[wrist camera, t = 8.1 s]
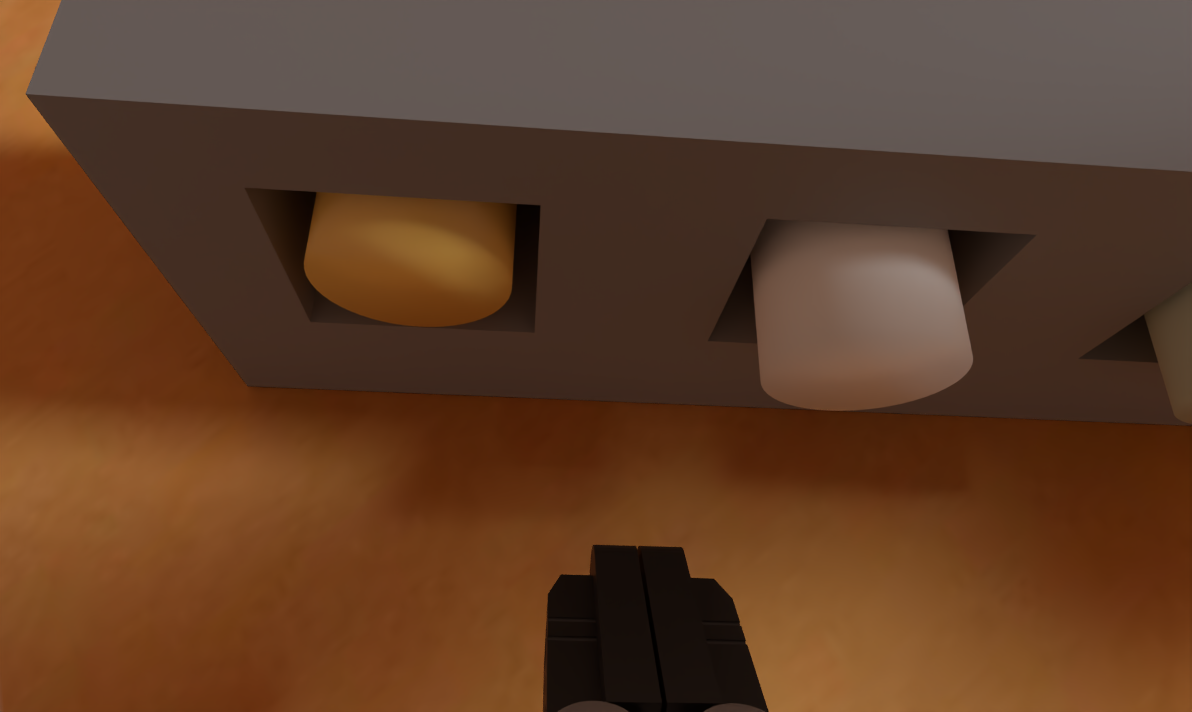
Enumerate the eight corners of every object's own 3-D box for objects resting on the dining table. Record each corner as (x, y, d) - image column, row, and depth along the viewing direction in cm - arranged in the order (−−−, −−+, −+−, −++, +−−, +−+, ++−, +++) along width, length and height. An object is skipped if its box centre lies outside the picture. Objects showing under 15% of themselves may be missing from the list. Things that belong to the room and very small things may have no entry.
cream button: (880, 190, 21) (957, 75, 17) (916, 414, 18) (1015, 334, 15) (723, 180, 21) (768, 61, 17) (739, 406, 18) (795, 323, 14)
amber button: (524, 117, 21) (526, -14, 17) (512, 331, 18) (511, 230, 15) (362, 106, 21) (330, -29, 17) (327, 322, 18) (279, 217, 14)
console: (1163, 199, 27) (1532, -108, 17) (1239, 427, 24) (1749, 209, 14) (296, 144, 25) (154, -242, 15) (247, 386, 22) (25, 94, 12)
